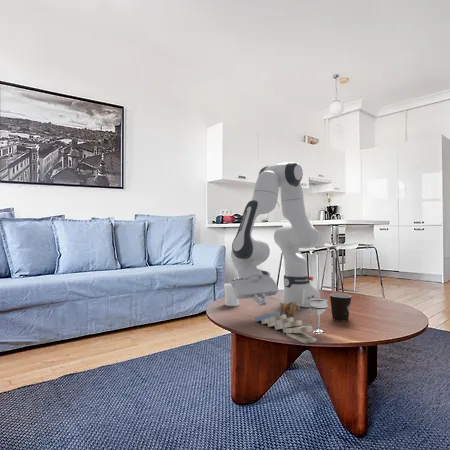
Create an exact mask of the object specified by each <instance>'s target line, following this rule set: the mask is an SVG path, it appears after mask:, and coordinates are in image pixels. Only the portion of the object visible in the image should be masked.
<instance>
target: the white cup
mask: <svg viewBox="0 0 450 450" xmlns="http://www.w3.org/2000/svg"><path fill="white" fill-rule="evenodd" d="M223 285H224V287H223V288H224V304H225V306H227V307H238V306H239V305H240V299H237V298H236V297H235V294H234V290H233V287H232V285H231V282H228V283H224V284H223Z"/></svg>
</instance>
